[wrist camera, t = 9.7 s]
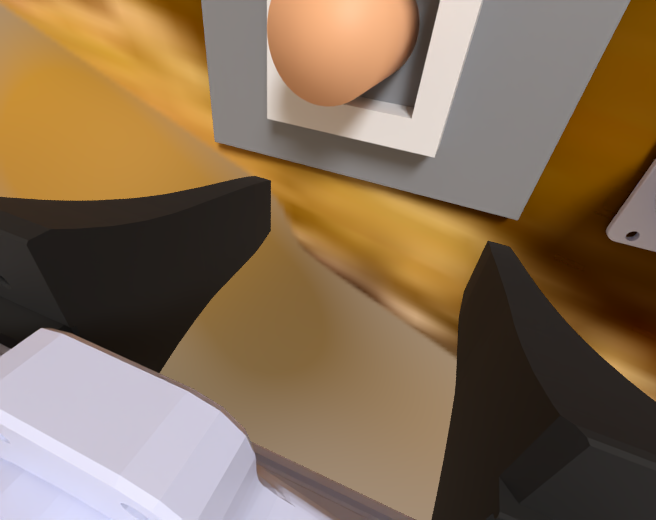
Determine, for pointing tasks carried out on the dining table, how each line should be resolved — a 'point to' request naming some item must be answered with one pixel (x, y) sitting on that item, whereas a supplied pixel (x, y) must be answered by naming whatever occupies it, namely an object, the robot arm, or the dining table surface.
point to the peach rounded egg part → (339, 45)
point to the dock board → (423, 98)
